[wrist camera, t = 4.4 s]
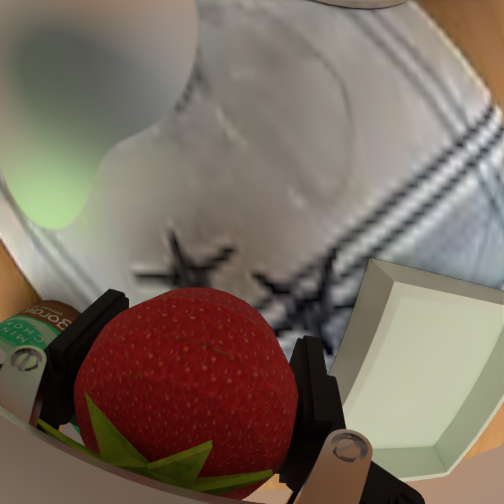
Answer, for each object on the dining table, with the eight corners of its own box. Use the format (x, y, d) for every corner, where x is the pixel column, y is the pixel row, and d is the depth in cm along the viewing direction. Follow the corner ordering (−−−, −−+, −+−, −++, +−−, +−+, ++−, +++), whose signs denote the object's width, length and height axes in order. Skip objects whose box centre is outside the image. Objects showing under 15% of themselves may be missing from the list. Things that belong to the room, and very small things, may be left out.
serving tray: (369, 257, 17) (394, 281, 13) (515, 294, 17) (547, 314, 13) (297, 443, 21) (299, 483, 17) (433, 445, 20) (447, 475, 16)
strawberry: (136, 361, 14) (35, 533, 4) (170, 210, 11) (-71, 380, 2) (252, 403, 14) (226, 601, 4) (321, 265, 11) (400, 551, 2)
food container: (118, 286, 18) (16, 373, 9) (136, 368, 20) (70, 472, 10) (0, 282, 19) (-86, 330, 9) (20, 348, 21) (-50, 408, 11)
